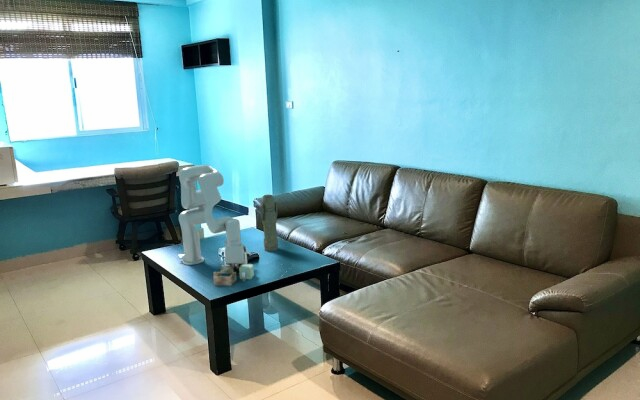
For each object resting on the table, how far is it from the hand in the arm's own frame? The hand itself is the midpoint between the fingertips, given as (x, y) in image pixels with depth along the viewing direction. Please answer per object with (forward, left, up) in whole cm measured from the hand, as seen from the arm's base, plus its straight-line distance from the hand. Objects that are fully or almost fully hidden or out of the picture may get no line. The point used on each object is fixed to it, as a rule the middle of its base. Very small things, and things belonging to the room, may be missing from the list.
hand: (236, 274), depth 268 cm
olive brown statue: (+7, +47, -2) cm, 48 cm away
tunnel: (-5, -3, -1) cm, 6 cm away
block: (+6, 0, -1) cm, 6 cm away
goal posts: (+6, 0, -1) cm, 6 cm away
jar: (-3, +14, -2) cm, 14 cm away
